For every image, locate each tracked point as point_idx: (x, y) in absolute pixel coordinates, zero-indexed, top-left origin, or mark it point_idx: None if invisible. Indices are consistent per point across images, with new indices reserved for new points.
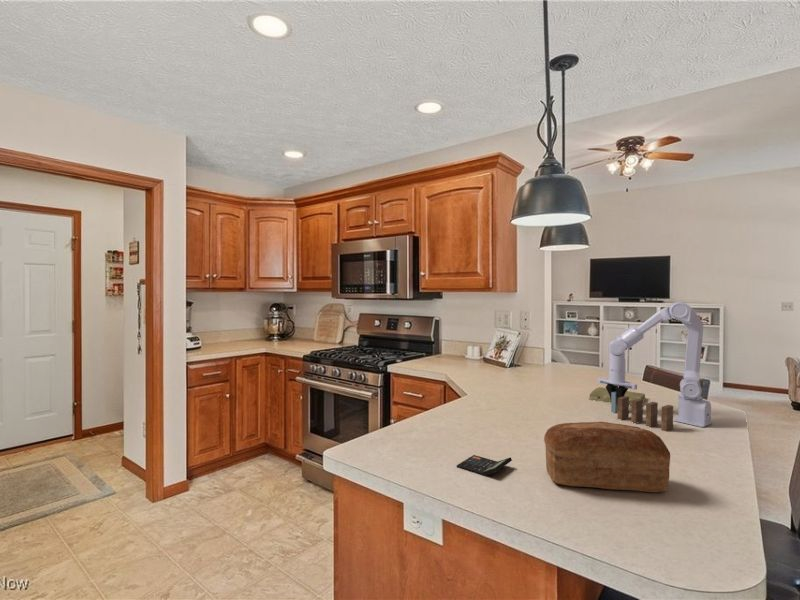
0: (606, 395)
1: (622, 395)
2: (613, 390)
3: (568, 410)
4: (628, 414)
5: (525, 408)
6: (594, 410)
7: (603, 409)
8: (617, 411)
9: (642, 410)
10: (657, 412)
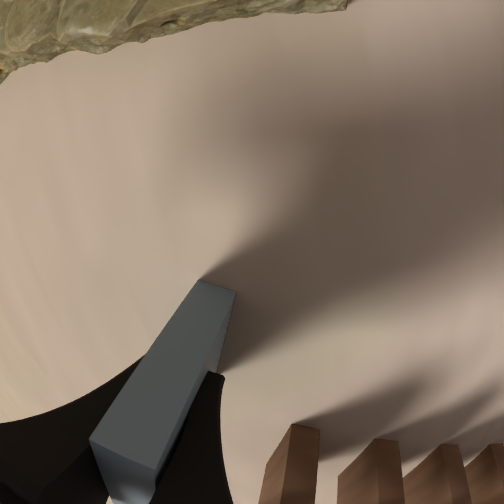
0: (6, 34)
1: (204, 463)
2: (96, 494)
3: (50, 404)
4: (317, 451)
5: (3, 412)
6: (98, 366)
7: (114, 316)
8: (219, 359)
9: (402, 499)
10: (470, 500)
